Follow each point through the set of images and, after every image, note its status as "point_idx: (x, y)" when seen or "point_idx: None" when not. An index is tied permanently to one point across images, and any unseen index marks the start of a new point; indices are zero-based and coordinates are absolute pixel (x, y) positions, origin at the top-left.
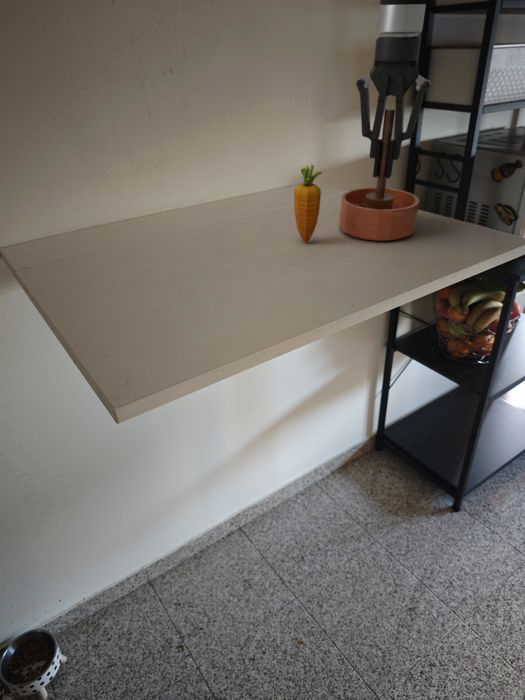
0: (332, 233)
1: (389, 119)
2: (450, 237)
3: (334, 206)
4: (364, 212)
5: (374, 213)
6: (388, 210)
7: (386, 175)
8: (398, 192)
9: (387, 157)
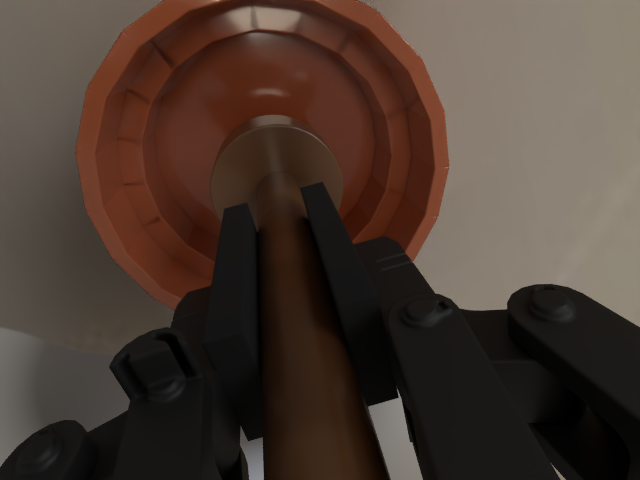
0: (394, 14)
1: None
2: (10, 218)
3: (476, 272)
4: None
5: None
6: (141, 17)
7: (243, 208)
8: None
9: (262, 279)
